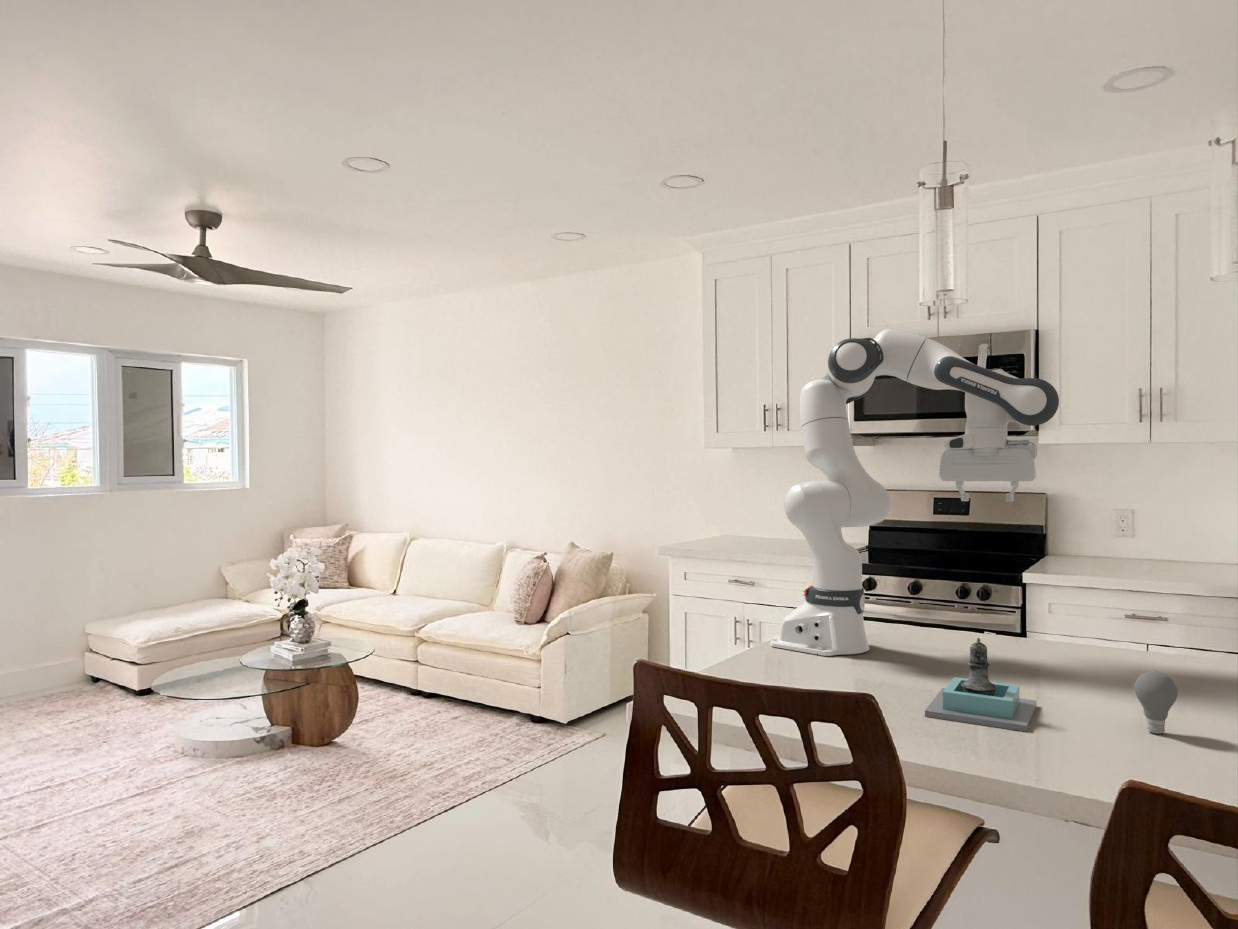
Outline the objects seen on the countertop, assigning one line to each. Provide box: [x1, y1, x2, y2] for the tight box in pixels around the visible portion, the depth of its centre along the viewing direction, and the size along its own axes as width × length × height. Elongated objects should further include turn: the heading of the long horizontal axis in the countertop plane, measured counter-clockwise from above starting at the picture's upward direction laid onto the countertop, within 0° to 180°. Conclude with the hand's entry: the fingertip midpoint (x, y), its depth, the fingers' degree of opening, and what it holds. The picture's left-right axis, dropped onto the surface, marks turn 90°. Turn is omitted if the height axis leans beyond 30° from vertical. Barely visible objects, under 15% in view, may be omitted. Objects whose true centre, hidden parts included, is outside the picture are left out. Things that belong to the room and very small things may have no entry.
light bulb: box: [1133, 670, 1179, 735], centre depth 138 cm, size 6×6×10 cm
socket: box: [924, 676, 1037, 733], centre depth 150 cm, size 16×16×4 cm
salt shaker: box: [961, 637, 997, 696], centre depth 150 cm, size 6×6×12 cm
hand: (987, 501), depth 194 cm, fingers open, 8 cm apart
